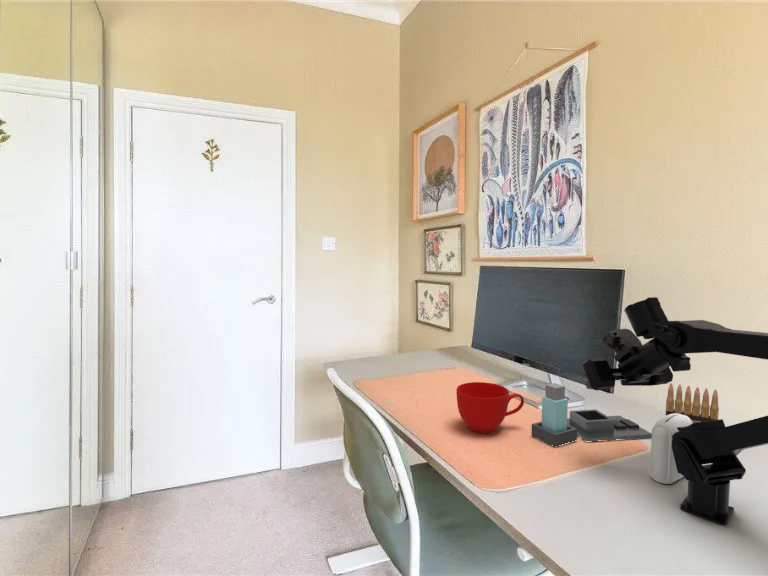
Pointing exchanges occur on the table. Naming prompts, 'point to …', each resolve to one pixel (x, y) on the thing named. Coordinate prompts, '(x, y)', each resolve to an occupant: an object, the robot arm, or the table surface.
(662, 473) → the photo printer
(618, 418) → the switch
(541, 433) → the box
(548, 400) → the aqua plug
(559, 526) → the table surface
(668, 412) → the ammunition clip
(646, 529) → the table surface
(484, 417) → the ceramic cup
